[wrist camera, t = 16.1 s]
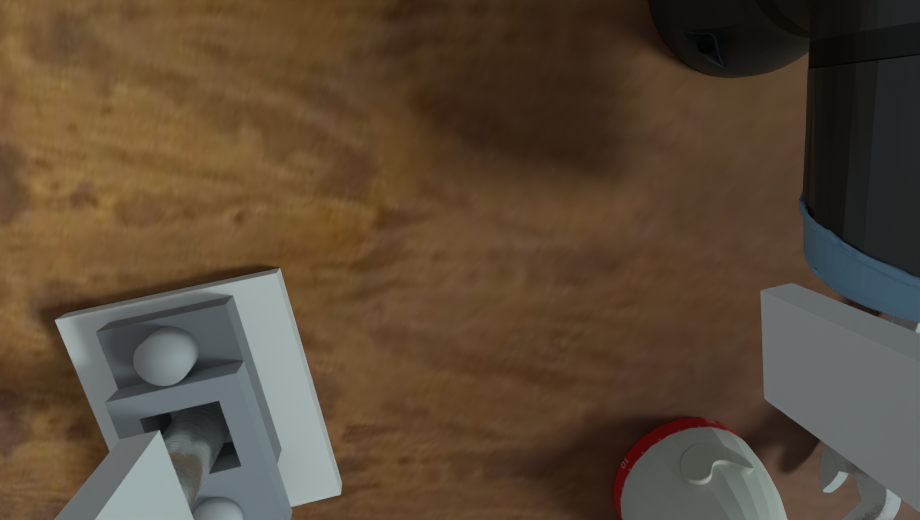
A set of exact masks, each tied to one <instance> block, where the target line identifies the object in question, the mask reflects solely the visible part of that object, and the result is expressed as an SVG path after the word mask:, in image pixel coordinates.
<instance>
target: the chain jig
mask: <svg viewBox="0 0 920 520" xmlns="http://www.w3.org/2000/svg"><path fill="white" fill-rule="evenodd" d="M55 322H56V324H57V327H58V329H59V332H60V334H61V336H62V339H63V341H64V344H65V346H66V348H67V351H68V353H69V356H70V358H71V360H72V363H73V365H74V367H75V370H76V372H77V375H78V377H79V379H80V382H81V384H82V387H83V389H84V391H85V394H86V396H87V399H88V401H89V403H90V406H91V408H92V411H93V413H94V415H95V418H96V420H97V423H98V425H99V427H100V430H101V432H102V434H103V437H104V439H105V442H106V444H107V446H108V449H109V451H111V450H112V449H113V448H114V447H115V445H116V444H117V443H118V442H119V440H120V439H123V438H128V437H132V436H136V435H141V434H145V433H149V432H154V431H158V430H160V433H161V436H162V435H163V433H164V432H165V430H166V429H167V427H168V426H169V425H170V423H171V422H172V420H173V419H174V418H175V416H176V415H177V413H178V412H179V410H181V409H185V408H189V407H194V406H198V405H202V404H207V403H211V402H215V401H219V402H220V405H221V408H222V411H223V414H224V417H225V420H226V422H227V425H228V428H229V431H230V432H229V434H228V436H227V438H226V440H225V442H224V444H223V446H222V448H221V450H220V452H219V454H218V456H217V458H216V460H215V462H214V464H213V466H212V468H211V470H210V472H209V474H208V476H207V479H206V481H205V483H204V485H203V487H202V489H201V491H200V493H199V495H198V497H197V499H196V501H195V503H194V505H193V507H192V509H191V514H192V516H193V519H194V520H291V516H292V509H291V507H293V506H297V505H301V504H305V503H309V502H313V501H317V500H321V499H325V498H329V497H333V496H337V495H341V487H342V482H341V478H340V475H339V471H338V468H337V464H336V461H335V458H334V454H333V451H332V447H331V444H330V440H329V437H328V433H327V430H326V426H325V423H324V419H323V416H322V412H321V409H320V405H319V402H318V398H317V395H316V391H315V388H314V384H313V381H312V378H311V374H310V371H309V367H308V364H307V360H306V357H305V353H304V350H303V346H302V343H301V339H300V336H299V332H298V329H297V325H296V322H295V318H294V315H293V311H292V308H291V304H290V301H289V298H288V294H287V291H286V287H285V284H284V280H283V277H282V273H281V270H280V268H277V269H272V270H267V271H263V272H258V273H253V274H248V275H244V276H239V277H234V278H229V279H225V280H220V281H215V282H211V283H206V284H201V285H196V286H192V287H187V288H182V289H177V290H173V291H168V292H163V293H159V294H154V295H149V296H144V297H140V298H135V299H130V300H125V301H121V302H116V303H111V304H107V305H102V306H97V307H92V308H88V309H83V310H78V311H73V312H69V313H66V314H64V315H62V316H61V317H59V318H57V319H56V320H55Z"/></svg>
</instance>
